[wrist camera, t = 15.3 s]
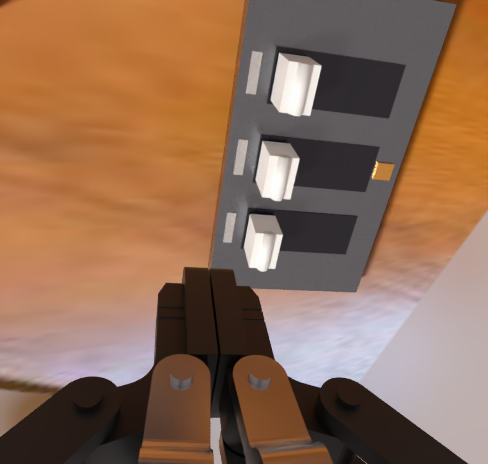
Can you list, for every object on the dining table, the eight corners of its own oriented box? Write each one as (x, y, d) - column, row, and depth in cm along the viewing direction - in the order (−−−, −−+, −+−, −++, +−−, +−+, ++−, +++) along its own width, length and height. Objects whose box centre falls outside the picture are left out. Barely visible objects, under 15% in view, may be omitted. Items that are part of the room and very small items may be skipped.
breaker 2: (279, 52, 34) (290, 62, 31) (309, 57, 35) (323, 67, 31) (270, 99, 36) (280, 114, 33) (299, 103, 36) (312, 117, 33)
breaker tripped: (262, 140, 38) (271, 158, 34) (290, 143, 38) (301, 160, 35) (255, 179, 39) (263, 199, 36) (281, 182, 40) (291, 202, 36)
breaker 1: (249, 213, 41) (256, 236, 38) (275, 215, 41) (284, 237, 38) (243, 246, 43) (249, 270, 39) (268, 248, 43) (276, 272, 40)
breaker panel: (249, -33, 33) (254, -33, 31) (443, 2, 36) (458, 4, 34) (206, 274, 47) (208, 287, 45) (349, 281, 50) (356, 293, 48)
